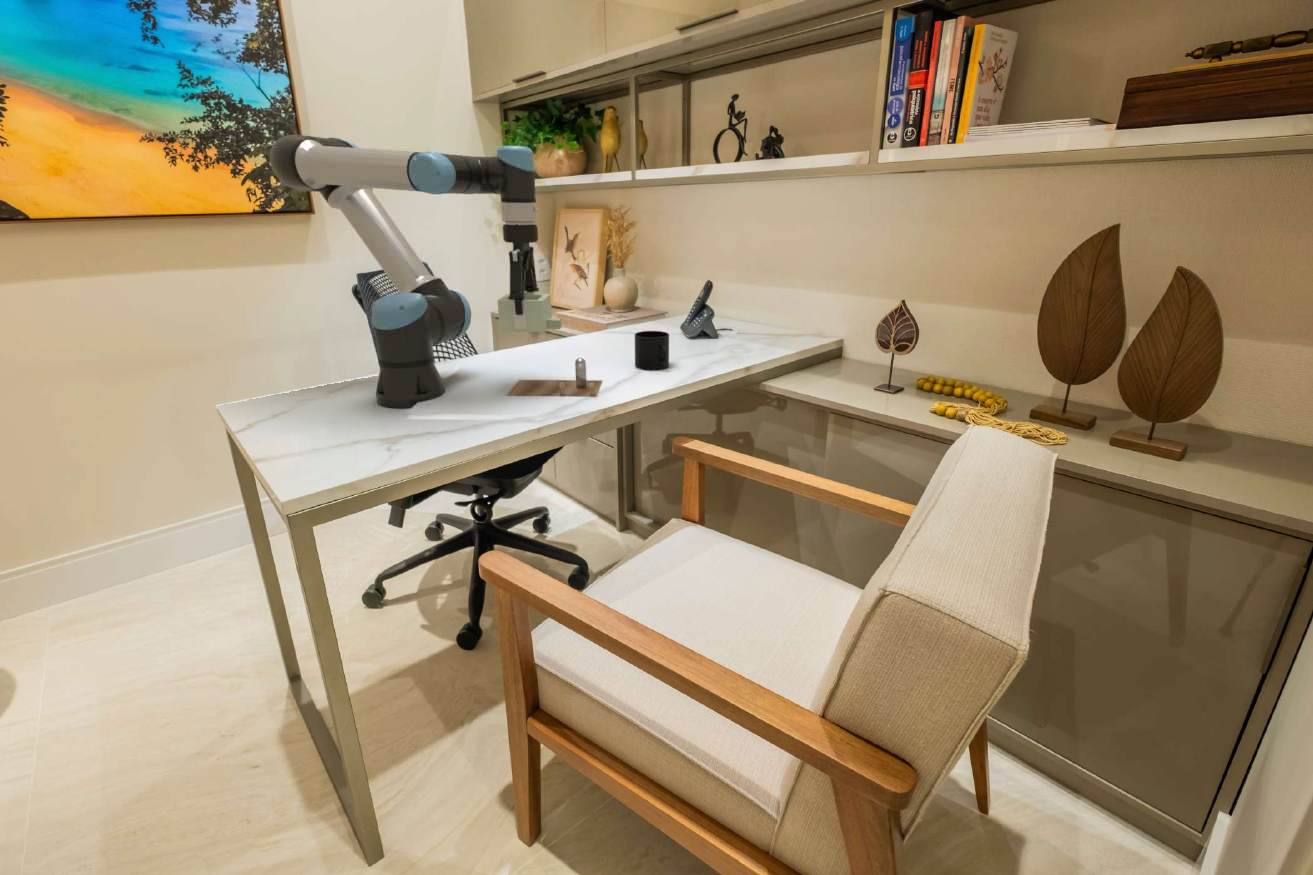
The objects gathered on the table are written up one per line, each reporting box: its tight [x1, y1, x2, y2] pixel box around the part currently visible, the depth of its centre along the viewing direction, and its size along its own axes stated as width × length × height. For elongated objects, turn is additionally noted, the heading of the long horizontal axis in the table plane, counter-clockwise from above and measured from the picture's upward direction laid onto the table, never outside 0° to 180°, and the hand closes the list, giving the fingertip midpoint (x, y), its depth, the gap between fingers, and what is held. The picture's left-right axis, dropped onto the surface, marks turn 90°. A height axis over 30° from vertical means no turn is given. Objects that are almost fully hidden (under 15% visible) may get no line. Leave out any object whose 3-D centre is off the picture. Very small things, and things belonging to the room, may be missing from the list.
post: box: [574, 357, 587, 389], centre depth 150 cm, size 2×2×7 cm
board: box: [505, 379, 603, 398], centre depth 151 cm, size 21×13×4 cm, turn 89°
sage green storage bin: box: [497, 292, 563, 333], centre depth 145 cm, size 13×10×7 cm
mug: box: [634, 330, 670, 371], centre depth 172 cm, size 9×12×9 cm
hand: (526, 324), depth 146 cm, fingers closed on sage green storage bin, 10 cm apart
